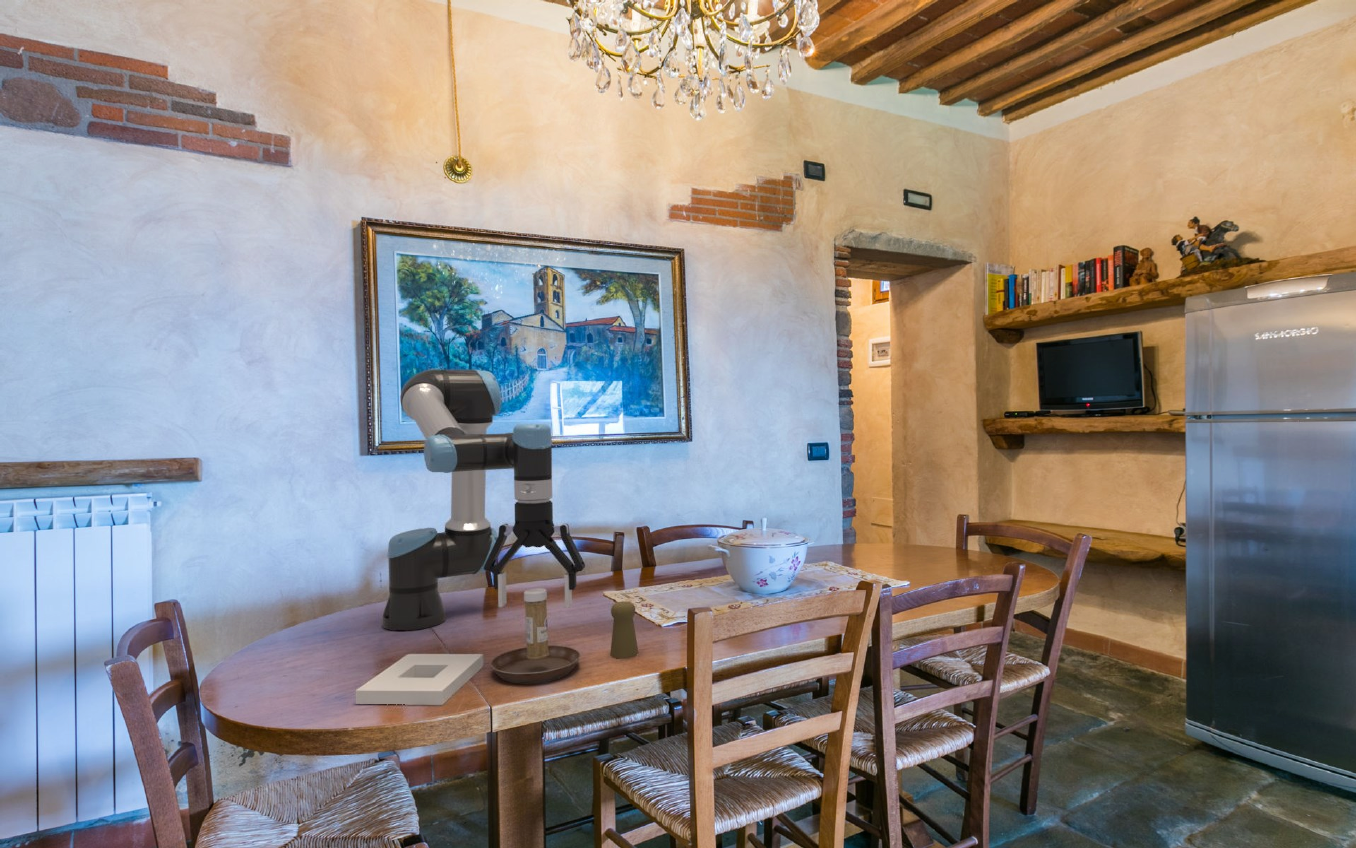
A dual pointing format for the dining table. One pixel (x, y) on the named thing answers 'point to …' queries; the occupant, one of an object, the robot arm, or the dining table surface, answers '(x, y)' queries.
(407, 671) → the white board with recess
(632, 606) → the pepper mill
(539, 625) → the sprinkles bottle
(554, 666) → the plant saucer
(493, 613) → the dining table surface
